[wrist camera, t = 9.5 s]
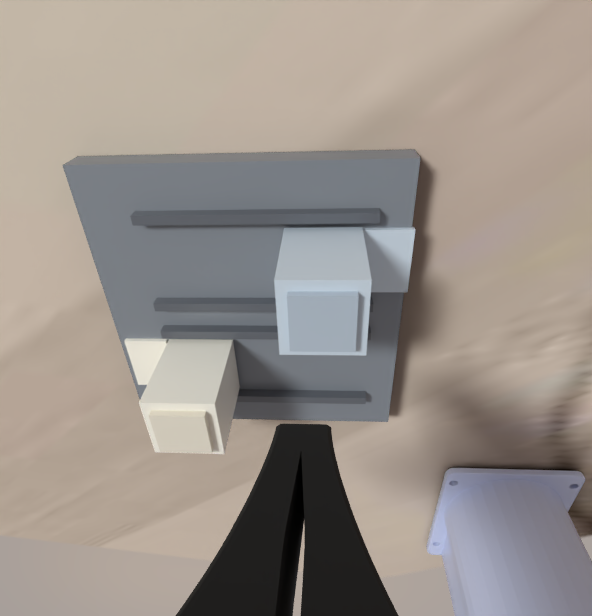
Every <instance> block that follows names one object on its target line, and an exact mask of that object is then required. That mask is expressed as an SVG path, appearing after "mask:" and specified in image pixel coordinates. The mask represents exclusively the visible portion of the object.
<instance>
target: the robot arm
mask: <svg viewBox="0 0 592 616" xmlns="http://www.w3.org/2000/svg"><path fill="white" fill-rule="evenodd" d="M584 482H585V477H584V475H583V474H582V473H581V472H579V471H562V470H523V469H485V468H450V469H448V470H447V471H446V472H445V476H444V480H443V483H442V487H441V491H440V495H439V499H438V503H437V507H436V511H435V515H434V519H433V523H432V526H431V530H430V534H429V538H428V542H427V546H426V547H427V552H428V553H429V554H432V555H442V558H443V562H444V567H445V572H446V575H447V581H448V586H449V590H450V595H451V599H452V604H453V609H454V613H455V616H592V561H591V559H590V557H589V555H588V553H587V551H586V549H585V547H584V545H583V543H582V541H581V539H580V537H579V535H578V532H577V530H576V528H575V526H574V524H573V522H572V520H571V518H570V516H569V514H568V511H569V509H570V507H571V505H572V504H573V502H574V500H575V498H576V496H577V495H578V493H579V491H580V489H581V487H582V486H583V484H584ZM303 523H305V551H304V569H303V587H302V604H301V616H398V614H397V612H396V610H395V608H394V606H393V604H392V602H391V600H390V598H389V596H388V594H387V592H386V590H385V588H384V586H383V583H382V581H381V579H380V577H379V575H378V573H377V571H376V568H375V566H374V564H373V562H372V560H371V557H370V555H369V553H368V550H367V548H366V546H365V543H364V541H363V538H362V536H361V533H360V531H359V528H358V526H357V523H356V521H355V518H354V515H353V513H352V510H351V507H350V504H349V501H348V498H347V495H346V492H345V489H344V486H343V483H342V480H341V476H340V473H339V469H338V465H337V461H336V457H335V453H334V448H333V442H332V434H331V427H329V426H328V425H321V424H280V425H278V426H277V427H276V431H275V434H274V438H273V441H272V444H271V447H270V449H269V452H268V454H267V457H266V459H265V462H264V464H263V467H262V469H261V471H260V474H259V476H258V478H257V480H256V482H255V484H254V486H253V489H252V491H251V493H250V495H249V497H248V499H247V501H246V503H245V505H244V507H243V509H242V511H241V512H240V514H239V516H238V518H237V520H236V522H235V524H234V525H233V527H232V529H231V531H230V533H229V535H228V536H227V538H226V540H225V541H224V543H223V545H222V547H221V548H220V550H219V552H218V553H217V555H216V556H215V558H214V560H213V561H212V563H211V564H210V566H209V568H208V569H207V571H206V573H205V574H204V575H203V577H202V579H201V580H200V582H199V583H198V584H197V586H196V587H195V589H194V590H193V592H192V593H191V595H190V596H189V598H188V599H187V600H186V602H185V603H184V605H183V606H182V608H181V609H180V610H179V612H178V613H177V615H176V616H292V615H293V603H294V596H295V588H296V580H297V572H298V564H299V556H300V548H301V540H302V532H303Z"/></svg>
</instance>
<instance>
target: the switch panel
mask: <svg viewBox="0 0 592 616" xmlns="http://www.w3.org/2000/svg"><path fill="white" fill-rule="evenodd" d="M419 166H420V157H419V155H418V154H417V152H416V151H415V149H409V150H360V151H312V152H263V153H214V154H165V155H117V156H77V157H76V158H74V159H72V160H70V161H69V162H67V163H65V164H64V165H63V168H64V171H65V174H66V177H67V180H68V183H69V186H70V189H71V192H72V195H73V198H74V202H75V205H76V208H77V211H78V214H79V217H80V220H81V223H82V226H83V229H84V232H85V235H86V238H87V241H88V244H89V247H90V250H91V253H92V256H93V259H94V262H95V265H96V268H97V271H98V274H99V277H100V280H101V283H102V286H103V289H104V292H105V295H106V299H107V302H108V305H109V308H110V311H111V314H112V317H113V320H114V323H115V326H116V329H117V332H118V335H119V338H120V341H121V344H122V347H123V350H124V353H125V356H126V359H127V362H128V365H129V368H130V371H131V374H132V377H133V380H134V383H135V386H136V389H137V392H138V396H139V399H141V397H142V395H143V393H144V391H145V389H146V386H147V384H148V382H149V380H150V378H151V376H152V374H153V372H154V370H155V368H156V366H157V364H158V361H159V359H160V357H161V355H162V353H163V351H164V349H165V347H166V345H167V343H168V341H169V339H221V340H233V344H234V350H235V357H236V364H237V371H238V378H239V385H240V388H239V393H238V397H237V402H236V406H235V410H234V415H233V419H272V420H324V421H375V422H388V417H389V409H390V401H391V393H392V385H393V377H394V369H395V361H396V353H397V345H398V337H399V328H400V320H401V312H402V304H403V296H404V292H408V284H409V276H410V269H411V261H412V253H413V245H414V237H415V228H412V223H413V215H414V207H415V199H416V191H417V183H418V175H419ZM324 227H362V228H363V233H364V239H365V245H366V250H367V256H368V262H369V267H370V273H371V279H372V284H371V297H370V311H369V324H368V338H367V352H366V356H360V355H279V341H278V327H277V313H276V299H275V286H274V278H275V273H276V268H277V263H278V257H279V252H280V247H281V242H282V237H283V231H284V228H324Z"/></svg>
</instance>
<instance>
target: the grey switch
mask: <svg viewBox="0 0 592 616" xmlns="http://www.w3.org/2000/svg"><path fill="white" fill-rule="evenodd" d="M371 284H372V279H371V273H370V267H369V262H368V256H367V250H366V245H365V239H364V233H363V228H362V227H324V228H284V231H283V237H282V242H281V247H280V252H279V257H278V263H277V268H276V273H275V278H274V286H275V299H276V313H277V327H278V341H279V355H360V356H366V352H367V338H368V324H369V311H370V297H371Z"/></svg>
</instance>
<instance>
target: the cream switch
mask: <svg viewBox="0 0 592 616" xmlns="http://www.w3.org/2000/svg"><path fill="white" fill-rule="evenodd" d="M239 388H240V385H239V378H238V371H237V364H236V357H235V350H234V344H233V340H221V339H169V341H168V343H167V345H166V347H165V349H164V351H163V353H162V355H161V357H160V359H159V361H158V364H157V366H156V368H155V370H154V372H153V374H152V376H151V378H150V380H149V382H148V384H147V386H146V389H145V391H144V393H143V395H142V397H141V399H140V401H139V405H140V408H141V411H142V414H143V417H144V420H145V423H146V426H147V429H148V432H149V435H150V438H151V441H152V444H153V447H154V450H155V452H164V453H204V454H225V450H226V445H227V441H228V437H229V432H230V428H231V423H232V419H233V415H234V410H235V406H236V402H237V397H238V393H239Z"/></svg>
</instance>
